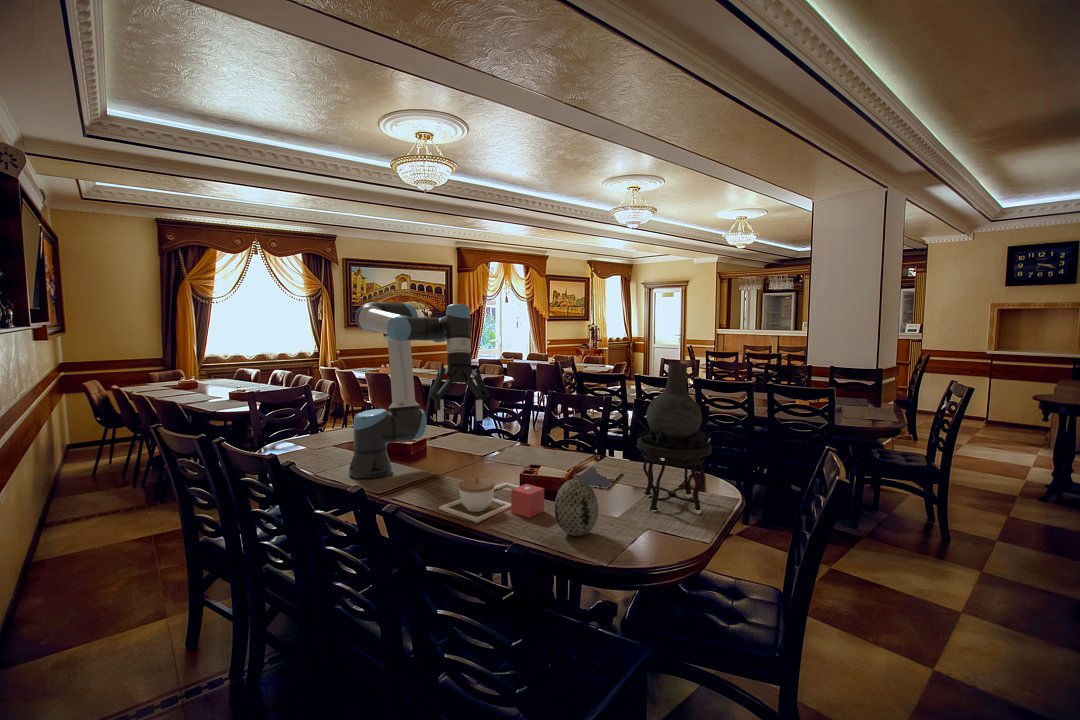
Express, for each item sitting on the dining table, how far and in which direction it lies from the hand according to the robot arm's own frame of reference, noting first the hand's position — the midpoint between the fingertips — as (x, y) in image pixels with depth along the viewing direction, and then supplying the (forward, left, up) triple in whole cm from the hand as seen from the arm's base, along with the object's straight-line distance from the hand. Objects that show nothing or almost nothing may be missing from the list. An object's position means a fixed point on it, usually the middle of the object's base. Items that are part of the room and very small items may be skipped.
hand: (460, 421), depth 153 cm
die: (+3, +22, -26) cm, 34 cm away
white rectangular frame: (-4, +9, -26) cm, 28 cm away
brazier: (-13, +65, -26) cm, 72 cm away
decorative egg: (+16, +37, -26) cm, 49 cm away
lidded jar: (+3, +6, -26) cm, 27 cm away
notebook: (-35, +41, -27) cm, 60 cm away
